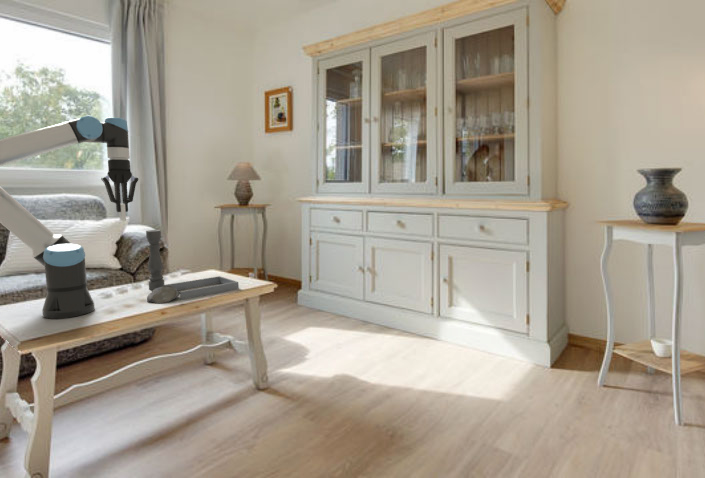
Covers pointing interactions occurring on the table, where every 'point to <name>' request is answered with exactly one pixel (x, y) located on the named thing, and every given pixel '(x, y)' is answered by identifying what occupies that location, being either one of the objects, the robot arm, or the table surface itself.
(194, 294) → the tray
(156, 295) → the fossilized seashell
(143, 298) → the table surface
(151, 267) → the candle holder
